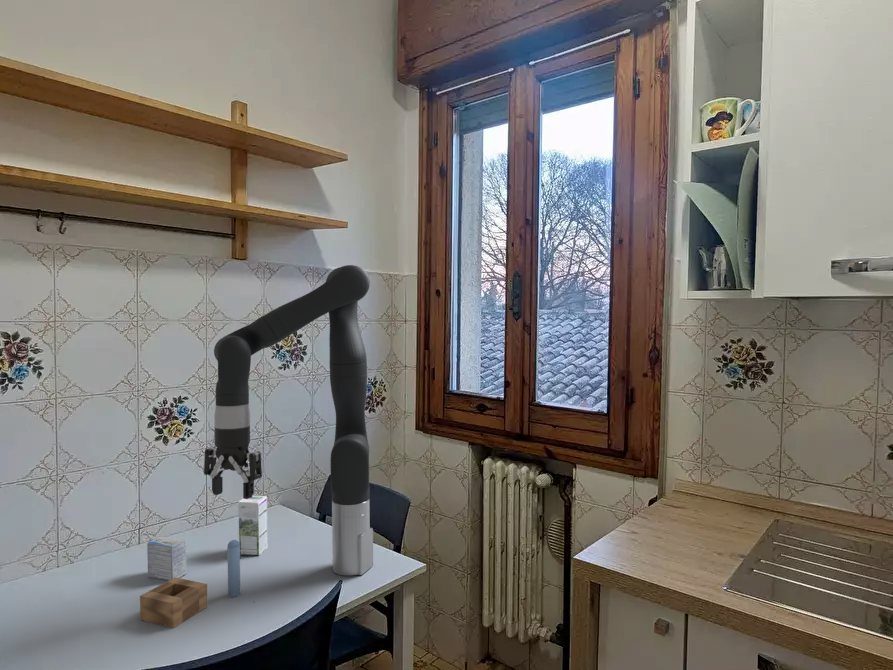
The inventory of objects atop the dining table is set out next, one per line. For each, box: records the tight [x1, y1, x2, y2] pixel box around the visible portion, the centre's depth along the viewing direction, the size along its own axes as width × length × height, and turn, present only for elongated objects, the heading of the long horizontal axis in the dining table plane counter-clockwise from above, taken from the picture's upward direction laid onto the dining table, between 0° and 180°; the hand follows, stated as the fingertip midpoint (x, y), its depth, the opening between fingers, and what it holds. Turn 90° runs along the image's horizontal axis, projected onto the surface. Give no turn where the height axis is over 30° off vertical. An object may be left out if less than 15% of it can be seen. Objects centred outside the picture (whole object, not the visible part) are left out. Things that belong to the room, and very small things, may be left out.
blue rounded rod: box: [226, 539, 241, 598], centre depth 126 cm, size 3×3×12 cm
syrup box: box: [237, 495, 269, 556], centre depth 150 cm, size 6×6×14 cm
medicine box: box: [146, 535, 187, 581], centre depth 136 cm, size 8×4×9 cm, turn 71°
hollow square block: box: [139, 577, 208, 629], centre depth 118 cm, size 9×9×5 cm
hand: (232, 496), depth 126 cm, fingers open, 8 cm apart
